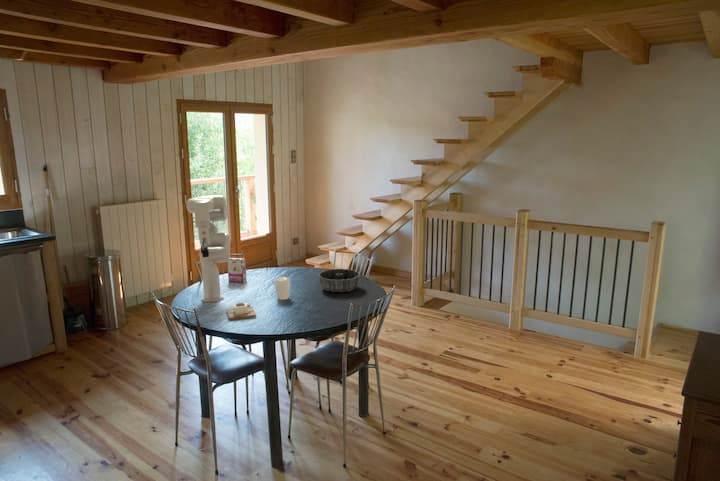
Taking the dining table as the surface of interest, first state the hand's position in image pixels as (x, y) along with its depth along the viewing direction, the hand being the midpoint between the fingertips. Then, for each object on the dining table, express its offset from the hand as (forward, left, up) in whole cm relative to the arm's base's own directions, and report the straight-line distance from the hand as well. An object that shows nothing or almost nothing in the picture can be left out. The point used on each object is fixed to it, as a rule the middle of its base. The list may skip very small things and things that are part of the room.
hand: (205, 254), depth 271 cm
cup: (-7, +43, -32) cm, 54 cm away
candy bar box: (-53, +21, -32) cm, 66 cm away
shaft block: (+14, +16, -32) cm, 38 cm away
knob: (+14, +16, -30) cm, 37 cm away
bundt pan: (-13, +80, -32) cm, 87 cm away
